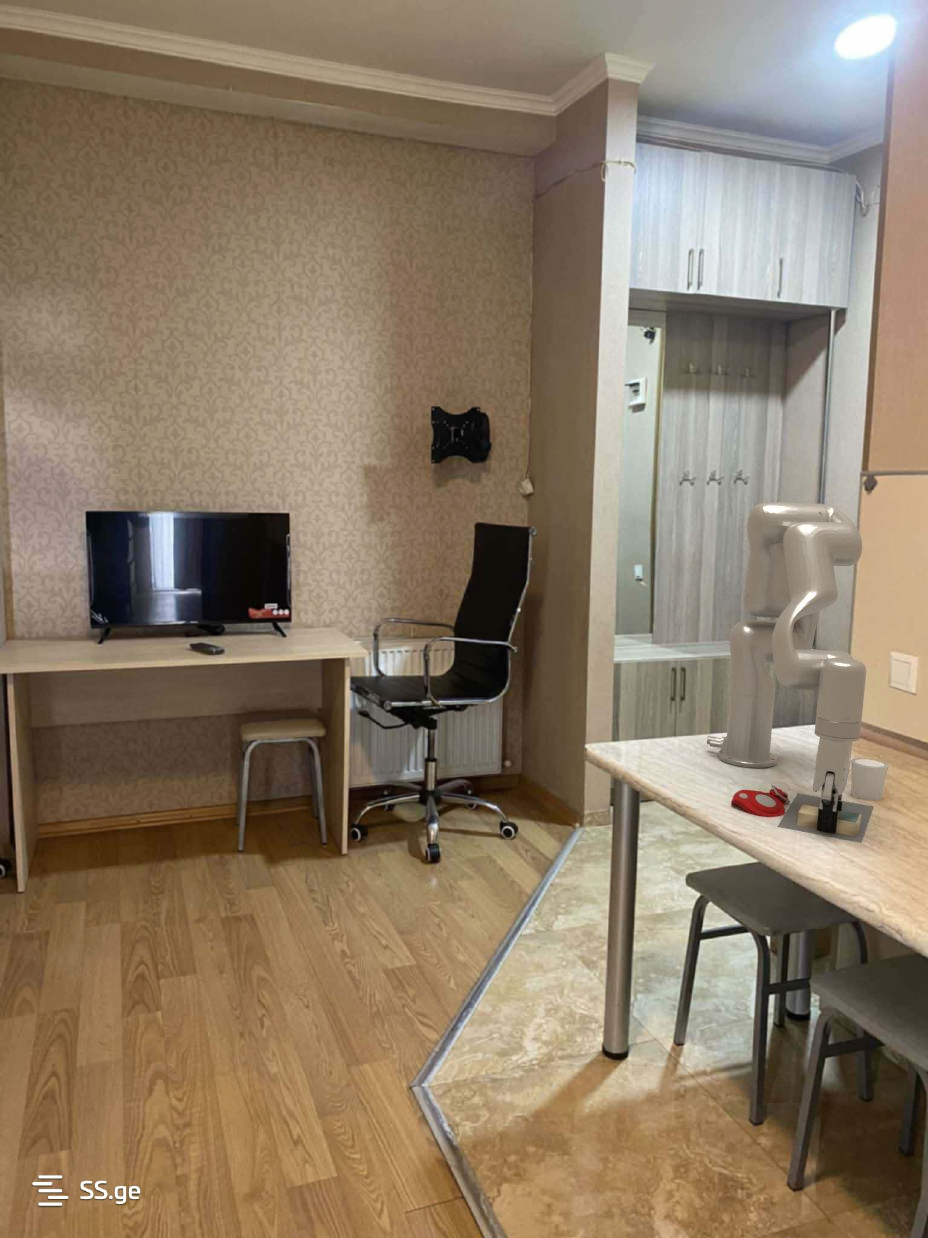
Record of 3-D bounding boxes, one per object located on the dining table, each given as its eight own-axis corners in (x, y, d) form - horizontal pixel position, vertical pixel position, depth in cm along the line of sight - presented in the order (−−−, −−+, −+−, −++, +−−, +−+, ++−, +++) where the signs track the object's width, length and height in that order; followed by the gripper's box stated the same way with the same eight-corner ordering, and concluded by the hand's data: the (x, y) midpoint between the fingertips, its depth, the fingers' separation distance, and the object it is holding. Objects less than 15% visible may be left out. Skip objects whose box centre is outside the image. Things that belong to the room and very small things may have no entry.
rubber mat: (777, 829, 171) (777, 826, 171) (797, 796, 190) (797, 793, 190) (861, 845, 165) (861, 842, 165) (873, 809, 184) (873, 806, 184)
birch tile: (797, 825, 172) (798, 811, 171) (801, 817, 176) (802, 803, 176) (856, 836, 167) (858, 822, 167) (859, 828, 172) (861, 813, 171)
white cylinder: (881, 804, 187) (885, 769, 186) (844, 797, 191) (848, 763, 190) (887, 795, 193) (890, 761, 192) (851, 788, 197) (854, 755, 196)
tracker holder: (786, 819, 174) (732, 798, 177) (778, 838, 176) (725, 817, 179) (794, 787, 184) (743, 767, 187) (787, 805, 186) (737, 786, 189)
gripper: (822, 715, 178) (813, 809, 181) (807, 735, 163) (799, 837, 166) (865, 721, 175) (856, 816, 177) (855, 742, 160) (845, 846, 162)
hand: (828, 825), depth 172 cm, fingers open, 5 cm apart
